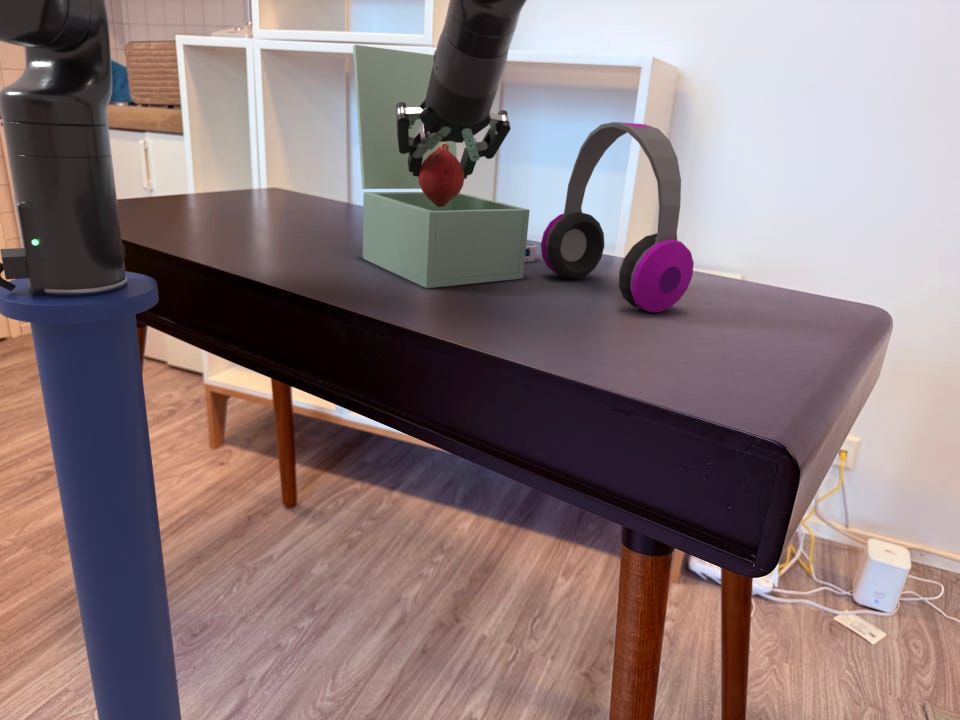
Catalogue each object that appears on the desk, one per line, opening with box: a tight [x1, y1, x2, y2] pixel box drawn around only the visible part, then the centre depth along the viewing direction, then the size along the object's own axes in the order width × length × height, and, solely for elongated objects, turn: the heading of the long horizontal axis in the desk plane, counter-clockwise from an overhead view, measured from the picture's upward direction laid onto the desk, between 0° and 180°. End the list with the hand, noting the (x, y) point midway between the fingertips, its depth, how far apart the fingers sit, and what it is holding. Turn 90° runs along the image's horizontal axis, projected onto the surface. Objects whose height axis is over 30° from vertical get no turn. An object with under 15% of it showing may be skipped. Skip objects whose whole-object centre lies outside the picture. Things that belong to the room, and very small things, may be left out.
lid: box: [352, 44, 458, 190], centre depth 91 cm, size 18×15×4 cm
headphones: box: [540, 121, 695, 313], centre depth 79 cm, size 21×9×20 cm, turn 28°
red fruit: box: [418, 143, 465, 207], centre depth 85 cm, size 6×6×8 cm
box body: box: [362, 191, 531, 289], centre depth 87 cm, size 17×15×9 cm
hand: (439, 172), depth 87 cm, fingers closed on red fruit, 5 cm apart
